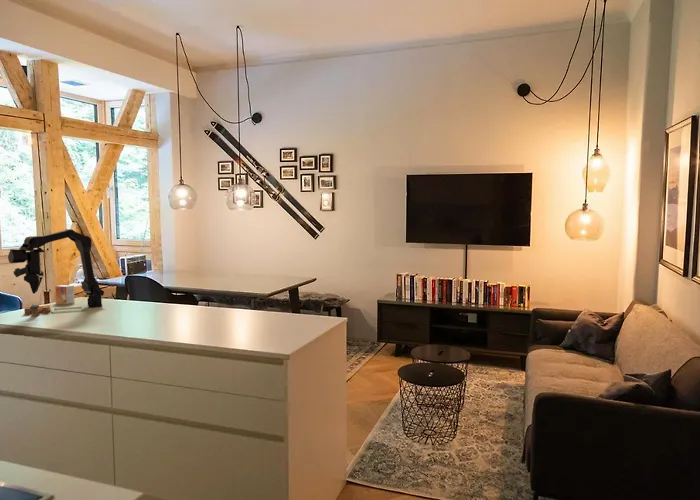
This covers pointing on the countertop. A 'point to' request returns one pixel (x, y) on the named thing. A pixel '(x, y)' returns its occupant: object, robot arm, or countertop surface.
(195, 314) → the countertop surface
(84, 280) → the robot arm
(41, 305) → the wooden rectangular block
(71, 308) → the tray
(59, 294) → the small box
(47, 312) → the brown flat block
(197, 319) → the countertop surface
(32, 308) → the tie
